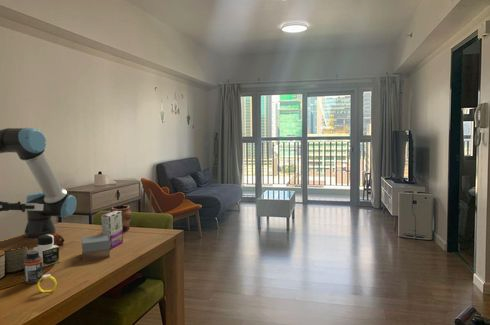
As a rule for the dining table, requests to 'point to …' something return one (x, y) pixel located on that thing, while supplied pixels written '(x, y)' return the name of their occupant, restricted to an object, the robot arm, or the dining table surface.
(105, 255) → the clear shallow container
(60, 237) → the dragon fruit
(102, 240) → the slate block
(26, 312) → the dining table surface
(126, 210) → the decorative planter
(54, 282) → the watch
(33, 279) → the supplement bottle
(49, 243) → the medicine bottle
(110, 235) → the candy bar box
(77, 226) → the dining table surface
